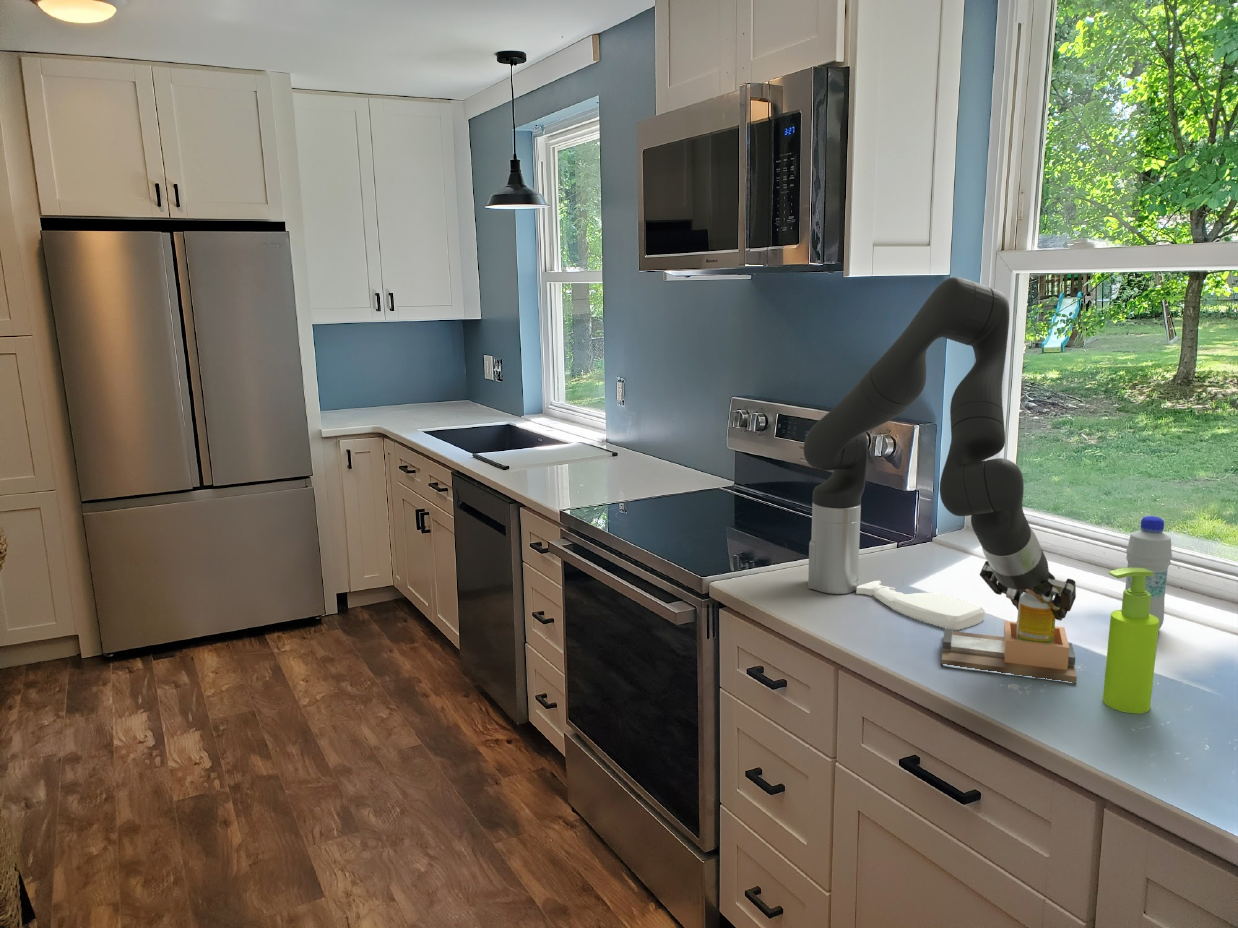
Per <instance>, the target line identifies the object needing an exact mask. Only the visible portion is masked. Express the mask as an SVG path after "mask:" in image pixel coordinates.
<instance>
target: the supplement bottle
mask: <svg viewBox="0 0 1238 928" xmlns="http://www.w3.org/2000/svg"><path fill="white" fill-rule="evenodd" d="M1054 598H1055V596H1053V600H1054ZM1016 619H1017V620H1016V622H1017V629H1016V639H1017V640H1023V641H1032V642H1040V643H1049V644H1053V641H1054V630H1055V626H1056V618H1055V616H1054V614H1053V612H1052V610H1051V607H1050V606H1049V605H1047V604H1046V603H1041V602H1040V601H1039V600H1038V599H1037V598H1036V597H1034V596H1033V595H1032V594H1029V593H1024V592H1023V593H1022V594H1021V595H1020V597H1019V605H1018V610H1017V618H1016Z"/></svg>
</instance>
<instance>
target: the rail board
mask: <svg viewBox="0 0 1238 928" xmlns="http://www.w3.org/2000/svg"><path fill="white" fill-rule="evenodd" d="M952 635H958V636H966V637H975V638H983V639H992V640H1000V641H1003V637H1004V636H999V635H998V636H997V635H991V634H980V633H973V632H963V631H953V630H952ZM941 664H947V665H954V666H960V667H967V668H975V669H980V670H988V671H997V672H1001V673H1011V674H1014V675H1022V676H1032V677H1035V678H1045V679H1046V678H1047V679H1052V680H1061V681H1068V682H1072V683H1076V684H1077V679H1078V675H1077V672H1076V668H1075V665H1074V666H1068V669H1067V670H1062V669H1054V668H1046V667H1038V666H1031V665H1023V664H1015V663H1007V662H1004V658H1002V657H994V656H986V655H978V654H970V653H962V652H954V651H946V650H943V649H942V654H941Z"/></svg>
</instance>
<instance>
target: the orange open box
mask: <svg viewBox="0 0 1238 928" xmlns="http://www.w3.org/2000/svg"><path fill="white" fill-rule="evenodd" d="M1003 623H1004V624H1003V636H1002V637H1003V641H1004V662H1007V663H1015V664H1023V665H1031V666H1038V667H1046V668H1054V669H1062V670H1067V669H1068V657H1069V644H1068V643H1069V641H1068V636H1067V633H1066V629H1065V627H1064V626H1063V627H1062V626H1056V625H1055V630H1054V641H1053V644H1049V643H1040V642H1032V641H1023V640H1017V639H1016V629H1017V621H1009V620H1004V622H1003Z"/></svg>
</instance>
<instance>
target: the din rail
mask: <svg viewBox="0 0 1238 928" xmlns="http://www.w3.org/2000/svg"><path fill="white" fill-rule="evenodd" d="M943 629H944V628H943ZM952 631H953V630H952V629H944V630H943V640H942V651H943V650H946V651H954V652H962V653H970V654H978V655H986V656H994V657H1002V658H1004V641H1000V640H992V639H983V638H975V637H966V636H958V635H952ZM1068 644H1069V657H1068V666H1074V667H1075V665H1076V655H1075V651H1074V646H1073V643H1071V642H1068Z"/></svg>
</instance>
